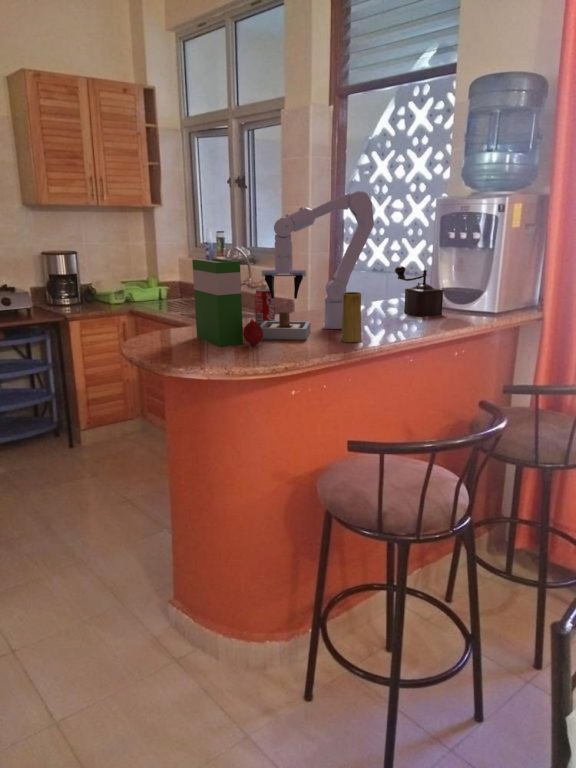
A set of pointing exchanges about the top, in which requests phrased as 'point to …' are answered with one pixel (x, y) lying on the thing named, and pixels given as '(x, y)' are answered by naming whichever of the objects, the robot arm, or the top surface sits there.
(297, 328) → the box
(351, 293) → the vase
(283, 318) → the peg
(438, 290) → the manual coffee grinder
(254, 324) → the onion
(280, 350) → the top surface
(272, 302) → the soda can
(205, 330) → the green cereal box
